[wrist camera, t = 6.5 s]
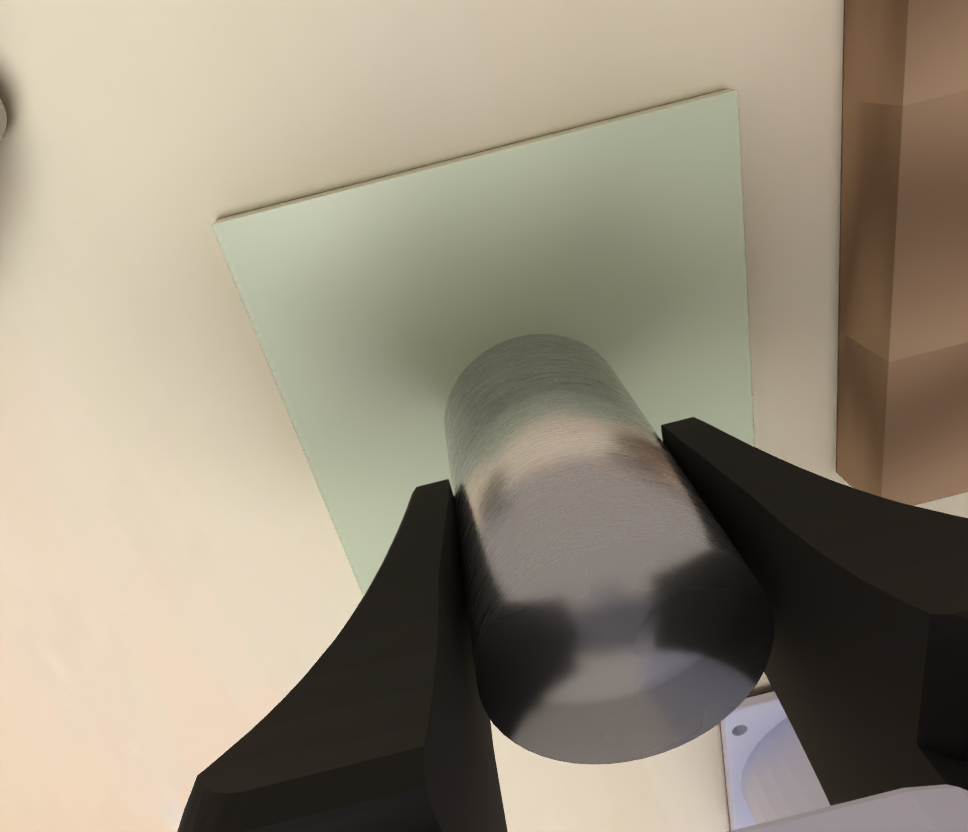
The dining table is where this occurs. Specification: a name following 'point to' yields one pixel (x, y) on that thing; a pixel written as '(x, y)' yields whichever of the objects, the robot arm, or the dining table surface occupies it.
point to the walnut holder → (904, 250)
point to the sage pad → (499, 293)
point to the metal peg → (591, 563)
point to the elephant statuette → (2, 119)
